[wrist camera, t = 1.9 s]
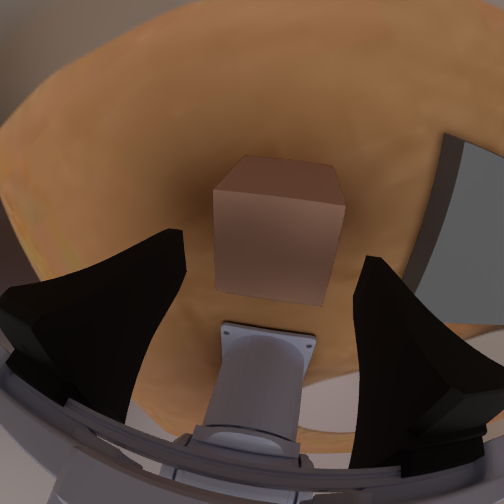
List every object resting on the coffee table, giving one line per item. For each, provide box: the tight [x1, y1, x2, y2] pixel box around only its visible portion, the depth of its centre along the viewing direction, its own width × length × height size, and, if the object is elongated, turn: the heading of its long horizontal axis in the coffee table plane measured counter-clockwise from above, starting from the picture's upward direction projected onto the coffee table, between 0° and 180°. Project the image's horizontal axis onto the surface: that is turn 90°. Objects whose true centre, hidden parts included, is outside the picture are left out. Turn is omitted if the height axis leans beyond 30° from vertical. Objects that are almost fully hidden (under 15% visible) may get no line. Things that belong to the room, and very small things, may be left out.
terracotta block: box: [213, 155, 346, 307], centre depth 14 cm, size 5×5×6 cm
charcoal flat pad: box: [402, 133, 504, 325], centre depth 14 cm, size 12×12×3 cm
